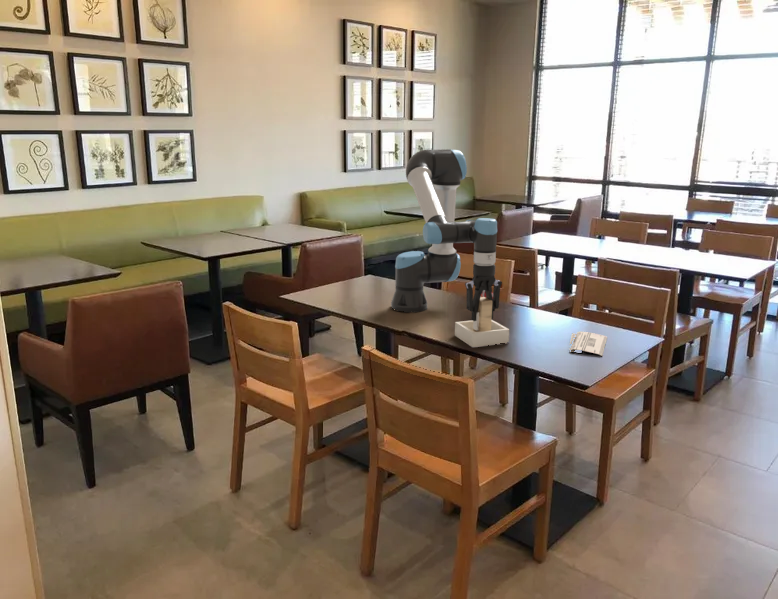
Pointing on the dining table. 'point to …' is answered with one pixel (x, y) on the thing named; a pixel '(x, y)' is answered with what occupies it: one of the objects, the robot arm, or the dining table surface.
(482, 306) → the light wood block
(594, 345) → the newspaper
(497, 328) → the white slotted box
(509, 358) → the dining table surface
